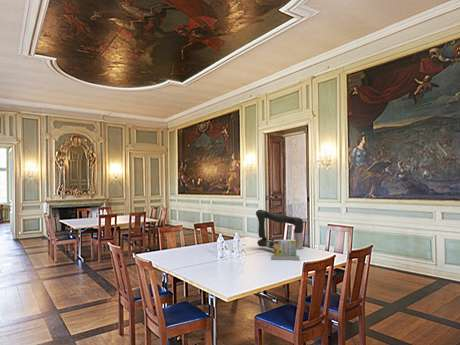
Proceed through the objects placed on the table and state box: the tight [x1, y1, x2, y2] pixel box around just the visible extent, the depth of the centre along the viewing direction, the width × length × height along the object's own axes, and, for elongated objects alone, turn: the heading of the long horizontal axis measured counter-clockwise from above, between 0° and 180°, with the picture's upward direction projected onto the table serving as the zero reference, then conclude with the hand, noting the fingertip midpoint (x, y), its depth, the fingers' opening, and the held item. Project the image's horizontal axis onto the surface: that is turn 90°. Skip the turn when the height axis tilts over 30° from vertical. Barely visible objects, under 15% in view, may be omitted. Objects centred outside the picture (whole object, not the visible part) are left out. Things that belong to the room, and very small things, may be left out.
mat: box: [270, 255, 301, 261], centre depth 301 cm, size 16×26×1 cm, turn 81°
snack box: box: [273, 239, 297, 256], centre depth 313 cm, size 21×6×15 cm, turn 84°
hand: (282, 247), depth 319 cm, fingers closed
